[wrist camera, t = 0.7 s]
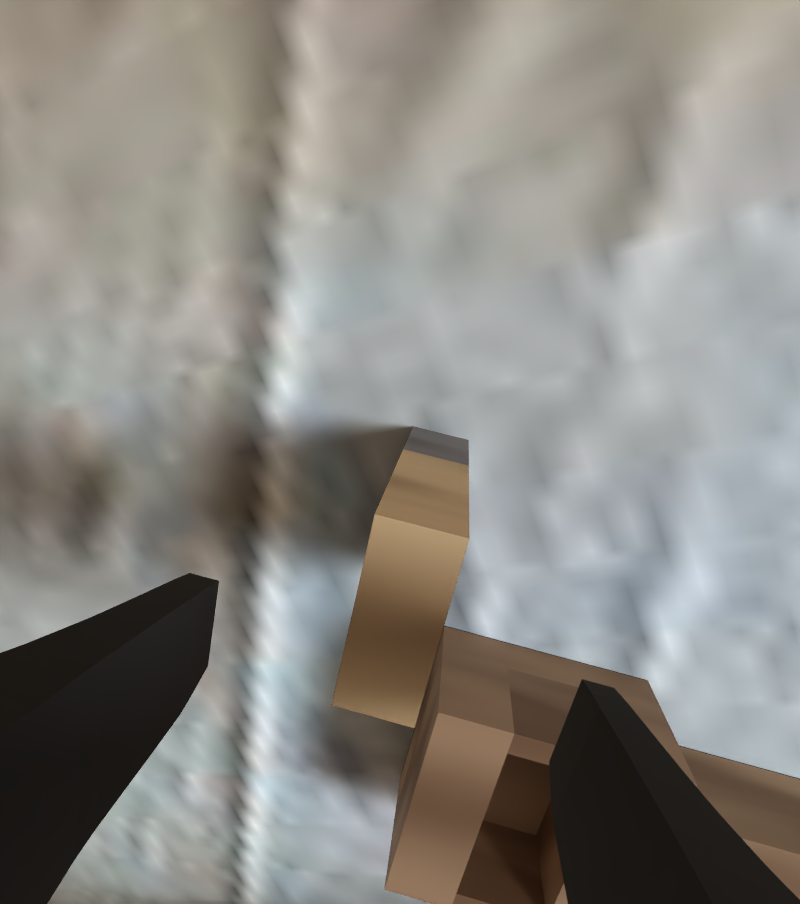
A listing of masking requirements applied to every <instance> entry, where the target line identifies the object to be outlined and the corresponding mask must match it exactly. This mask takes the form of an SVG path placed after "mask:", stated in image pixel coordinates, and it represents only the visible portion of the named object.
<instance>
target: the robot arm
mask: <svg viewBox="0 0 800 904" xmlns="http://www.w3.org/2000/svg"><path fill="white" fill-rule="evenodd" d="M218 584H219V581H217V580H213V579H210V578H206V577H202V576H199V575H195V574H191V573H189V574H186V575H184V576H181V577H179V578H177V579H174V580H172V581H170V582H168V583H166V584H163V585H161V586H159V587H157V588H155V589H153V590H150V591H148V592H146V593H144V594H142V595H140V596H137V597H135V598H133V599H131V600H129V601H126V602H124V603H122V604H120V605H118V606H115V607H113V608H111V609H109V610H106V611H104V612H102V613H100V614H97V615H95V616H93V617H91V618H88V619H86V620H84V621H81V622H79V623H76V624H74V625H71V626H69V627H66V628H64V629H61V630H59V631H56V632H54V633H51V634H49V635H46V636H44V637H41V638H39V639H36V640H34V641H31V642H29V643H27V644H24V645H21V646H18V647H16V648H13V649H10V650H7V651H5V652H2V653H0V904H47V903H48V902H49V900H50V898H51V897H52V895H53V894H54V892H55V890H56V889H57V887H58V886H59V884H60V882H61V881H62V879H63V877H64V876H65V874H66V873H67V871H68V869H69V868H70V866H71V865H72V863H73V861H74V860H75V858H76V857H77V855H78V854H79V852H80V851H81V850H82V848H83V847H84V845H85V844H86V842H87V841H88V839H89V838H90V837H91V835H92V834H93V832H94V831H95V829H96V828H97V827H98V825H99V824H100V822H101V821H102V820H103V818H104V817H105V816H106V814H107V813H108V812H109V810H110V809H111V808H112V806H113V805H114V804H115V802H116V801H117V800H118V798H119V797H120V795H121V794H122V793H123V791H124V790H125V789H126V787H127V786H128V785H129V783H130V782H131V781H132V779H133V778H134V777H135V775H136V774H137V773H138V771H139V770H140V768H141V767H142V766H143V764H144V763H145V762H146V760H147V759H148V758H149V756H150V755H151V754H152V752H153V751H154V750H155V748H156V747H157V745H158V744H159V743H160V741H161V740H162V739H163V737H164V736H165V735H166V733H167V732H168V730H169V729H170V728H171V726H172V725H173V724H174V722H175V721H176V719H177V718H178V717H179V715H180V714H181V712H182V710H183V709H184V707H185V705H186V703H187V702H188V700H189V698H190V697H191V695H192V693H193V692H194V690H195V688H196V686H197V684H198V683H199V681H200V679H201V677H202V675H203V674H204V672H205V670H206V668H207V666H208V660H209V653H210V645H211V638H212V630H213V622H214V615H215V607H216V600H217V592H218ZM549 769H550V787H551V802H552V815H553V824H554V830H555V836H556V841H557V847H558V853H559V858H560V864H561V869H562V875H563V880H564V886H565V891H566V896H567V902H568V904H800V899H799V898H798V897H797V896H796V895H795V894H794V893H793V892H792V891H791V890H790V889H789V888H788V887H787V886H786V885H785V884H784V883H783V882H782V881H781V880H780V879H779V878H778V877H777V876H776V875H775V874H774V873H773V872H772V871H771V870H770V869H769V868H768V867H767V866H766V864H765V863H764V862H763V861H762V860H761V859H760V858H759V857H758V856H757V855H756V854H755V853H754V851H753V850H752V849H751V848H750V847H749V846H748V845H747V844H746V843H745V841H744V840H743V839H742V838H741V837H740V836H739V835H738V834H737V833H736V832H735V830H734V829H733V828H732V827H731V826H730V825H729V824H728V823H727V822H726V820H725V819H724V818H723V817H722V816H721V815H720V814H719V812H718V811H717V810H716V809H715V808H714V807H713V806H712V804H711V803H710V802H709V801H708V800H707V799H706V797H705V796H704V795H703V794H702V793H701V792H700V790H699V789H698V788H697V787H696V786H695V785H694V783H693V782H692V781H691V780H690V779H689V777H688V776H687V775H686V774H685V773H684V771H683V770H682V769H681V768H680V767H679V765H678V764H677V763H676V762H675V760H674V759H673V758H672V757H671V756H670V754H669V753H668V752H667V751H666V749H665V748H664V747H663V746H662V745H661V743H660V742H659V741H658V740H657V738H656V737H655V736H654V735H653V733H652V732H651V731H650V730H649V728H648V727H647V726H646V725H645V724H644V722H643V721H642V720H641V719H640V717H639V716H638V715H637V714H636V713H635V711H634V710H633V709H632V708H631V706H630V705H629V704H628V703H627V702H626V701H625V699H624V698H623V697H622V696H621V695H620V694H619V693H618V691H617V690H616V689H615V688H613V687H610V686H606V685H602V684H598V683H595V682H591V681H587V680H584V679H582V680H581V683H580V685H579V688H578V690H577V693H576V695H575V698H574V700H573V703H572V705H571V708H570V710H569V713H568V715H567V718H566V720H565V723H564V725H563V728H562V730H561V733H560V735H559V738H558V740H557V743H556V746H555V748H554V751H553V753H552V756H551V758H550V761H549Z"/></svg>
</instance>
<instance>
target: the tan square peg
mask: <svg viewBox="0 0 800 904" xmlns="http://www.w3.org/2000/svg"><path fill="white" fill-rule="evenodd" d="M468 541H469V450H468V440H466V439H462V438H458V437H454V436H450V435H445V434H441V433H437V432H433V431H429V430H425V429H421V428H417V427H413V428H412V430H411V433H410V435H409V437H408V439H407V442H406V444H405V446H404V448H403V451H402V453H401V455H400V458H399V460H398V462H397V464H396V467H395V469H394V471H393V473H392V476H391V478H390V480H389V483H388V485H387V487H386V489H385V492H384V494H383V496H382V499H381V501H380V503H379V505H378V508H377V510H376V512H375V515H374V519H373V524H372V528H371V533H370V537H369V541H368V546H367V550H366V555H365V559H364V564H363V568H362V572H361V577H360V581H359V586H358V590H357V595H356V599H355V603H354V608H353V612H352V617H351V621H350V626H349V630H348V635H347V639H346V643H345V648H344V652H343V657H342V661H341V666H340V670H339V674H338V679H337V683H336V688H335V692H334V697H333V701H332V705H333V706H337V707H340V708H344V709H347V710H351V711H354V712H358V713H362V714H365V715H369V716H372V717H376V718H379V719H383V720H387V721H390V722H394V723H397V724H401V725H404V726H408V727H411V728H415V724H416V721H417V717H418V714H419V710H420V707H421V704H422V700H423V697H424V693H425V690H426V686H427V683H428V679H429V676H430V672H431V669H432V666H433V662H434V659H435V655H436V652H437V648H438V645H439V641H440V638H441V634H442V631H443V628H444V624H445V621H446V617H447V614H448V610H449V607H450V603H451V600H452V596H453V593H454V590H455V586H456V583H457V579H458V576H459V572H460V569H461V565H462V562H463V559H464V555H465V552H466V548H467V545H468Z"/></svg>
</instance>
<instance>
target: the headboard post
mask: <svg viewBox="0 0 800 904" xmlns="http://www.w3.org/2000/svg"><path fill="white" fill-rule="evenodd" d="M582 679H584V680H587V681H591V682H595V683H598V684H602V685H606V686H610V687H613V688H615V689H616V690H617V691H618V693H619V694H620V695H621V696H622V697H623V698H624V699H625V701H626V702H627V703H628V704H629V705H630V706H631V708H632V709H633V710H634V711H635V713H636V714H637V715H638V716H639V717H640V719H641V720H642V721H643V722H644V724H645V725H646V726H647V727H648V728H649V730H650V731H651V732H652V733H653V735H654V736H655V737H656V738H657V740H658V741H659V742H660V743H661V745H662V746H663V747H664V748H665V749H666V751H667V752H668V753H669V754H670V756H671V757H672V758H673V759H674V760H675V762H676V763H677V764H678V765H679V767H680V768H681V769H682V770H683V771H684V773H685V774H686V775H687V776H688V777H689V779H690V780H691V781H692V782H693V783H694V785H695V786H696V787H697V788H698V789H699V790H700V792H701V793H702V794H703V795H704V796H705V797H706V799H707V800H708V801H709V802H710V803H711V804H712V806H713V807H714V808H715V809H716V810H717V811H718V812H719V814H720V815H721V816H722V817H723V818H724V819H725V820H726V822H727V823H728V824H729V825H730V826H731V827H732V828H733V829H734V830H735V832H736V833H737V834H738V835H739V836H740V837H741V838H742V839H743V840H744V841H745V843H746V844H747V845H748V846H749V847H750V848H751V849H752V850H753V851H754V853H755V854H756V855H757V856H758V857H759V858H760V859H761V860H762V861H763V862H764V863H765V864H766V866H767V867H768V868H769V869H770V870H771V871H772V872H773V873H774V874H775V875H776V876H777V877H778V878H779V879H780V880H781V881H782V882H783V883H784V884H785V885H786V886H787V887H788V888H789V889H790V890H791V891H792V892H793V893H794V894H795V895H796V896H797V897H798V898H799V899H800V779H797V778H793V777H789V776H786V775H782V774H778V773H775V772H771V771H768V770H764V769H760V768H757V767H753V766H749V765H746V764H742V763H739V762H735V761H731V760H728V759H724V758H720V757H717V756H713V755H709V754H706V753H702V752H699V751H695V750H691V749H688V748H684V747H680V746H679V745H678V743H677V741H676V739H675V737H674V735H673V733H672V730H671V728H670V726H669V724H668V722H667V720H666V718H665V716H664V714H663V712H662V710H661V707H660V705H659V703H658V701H657V699H656V697H655V695H654V693H653V691H652V689H651V686H650V684H649V682H648V681H646V680H643V679H639V678H635V677H631V676H628V675H624V674H620V673H617V672H613V671H609V670H605V669H602V668H598V667H594V666H591V665H587V664H583V663H579V662H576V661H572V660H568V659H565V658H561V657H557V656H553V655H550V654H546V653H542V652H539V651H535V650H531V649H527V648H524V647H520V646H516V645H513V644H509V643H505V642H501V641H498V640H494V639H490V638H487V637H483V636H479V635H475V634H472V633H468V632H464V631H461V630H457V629H453V628H449V627H446V626H444V630H443V633H442V636H441V640H440V643H439V647H438V650H437V654H436V657H435V661H434V664H433V668H432V671H431V674H430V678H429V681H428V685H427V688H426V692H425V695H424V699H423V702H422V705H421V709H420V712H419V716H418V719H417V723H416V726H415V730H414V733H413V736H412V740H411V743H410V747H409V750H408V754H407V757H406V761H405V764H404V767H403V771H402V774H401V778H400V784H399V791H398V798H397V805H396V812H395V819H394V826H393V833H392V840H391V847H390V855H389V862H388V869H387V876H386V883H385V890H388V891H392V892H395V893H398V894H402V895H405V896H408V897H412V898H415V899H418V900H422V901H425V902H428V903H432V904H568V902H567V896H566V891H565V886H564V880H563V875H562V869H561V864H560V858H559V853H558V847H557V841H556V836H555V830H554V824H553V815H552V802H551V787H550V769H549V761H550V758H551V756H552V753H553V751H554V748H555V746H556V743H557V740H558V738H559V735H560V733H561V730H562V728H563V725H564V723H565V720H566V718H567V715H568V713H569V710H570V708H571V705H572V703H573V700H574V698H575V695H576V693H577V690H578V688H579V685H580V683H581V680H582Z"/></svg>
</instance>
